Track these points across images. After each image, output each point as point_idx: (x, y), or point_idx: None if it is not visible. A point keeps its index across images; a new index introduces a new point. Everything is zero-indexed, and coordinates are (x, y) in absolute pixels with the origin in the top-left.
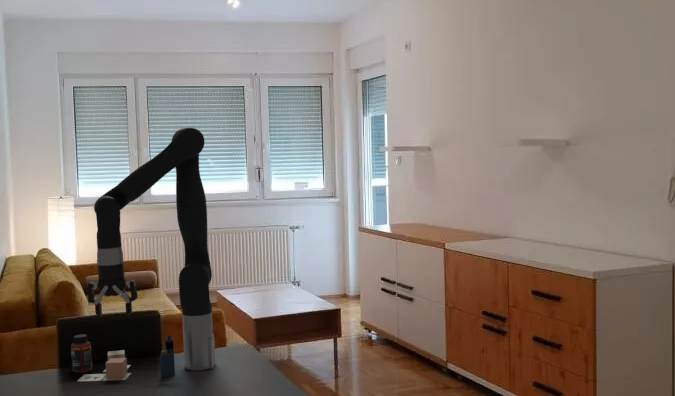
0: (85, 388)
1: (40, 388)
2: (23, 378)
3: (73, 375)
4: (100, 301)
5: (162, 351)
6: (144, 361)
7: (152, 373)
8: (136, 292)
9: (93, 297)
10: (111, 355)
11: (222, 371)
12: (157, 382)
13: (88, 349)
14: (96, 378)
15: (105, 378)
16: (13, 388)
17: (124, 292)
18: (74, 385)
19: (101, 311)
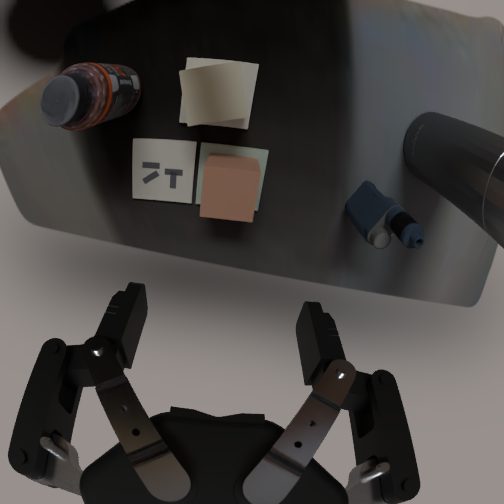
0: (169, 242)
1: (74, 222)
2: (16, 147)
3: (105, 130)
4: (115, 356)
5: (376, 245)
6: (297, 27)
7: (325, 159)
8: (397, 415)
9: (60, 371)
10: (200, 123)
11: None
12: (333, 237)
13: (111, 107)
14: (176, 182)
15: (201, 187)
16: (30, 213)
17: (316, 426)
18: (135, 215)
19: (137, 304)
